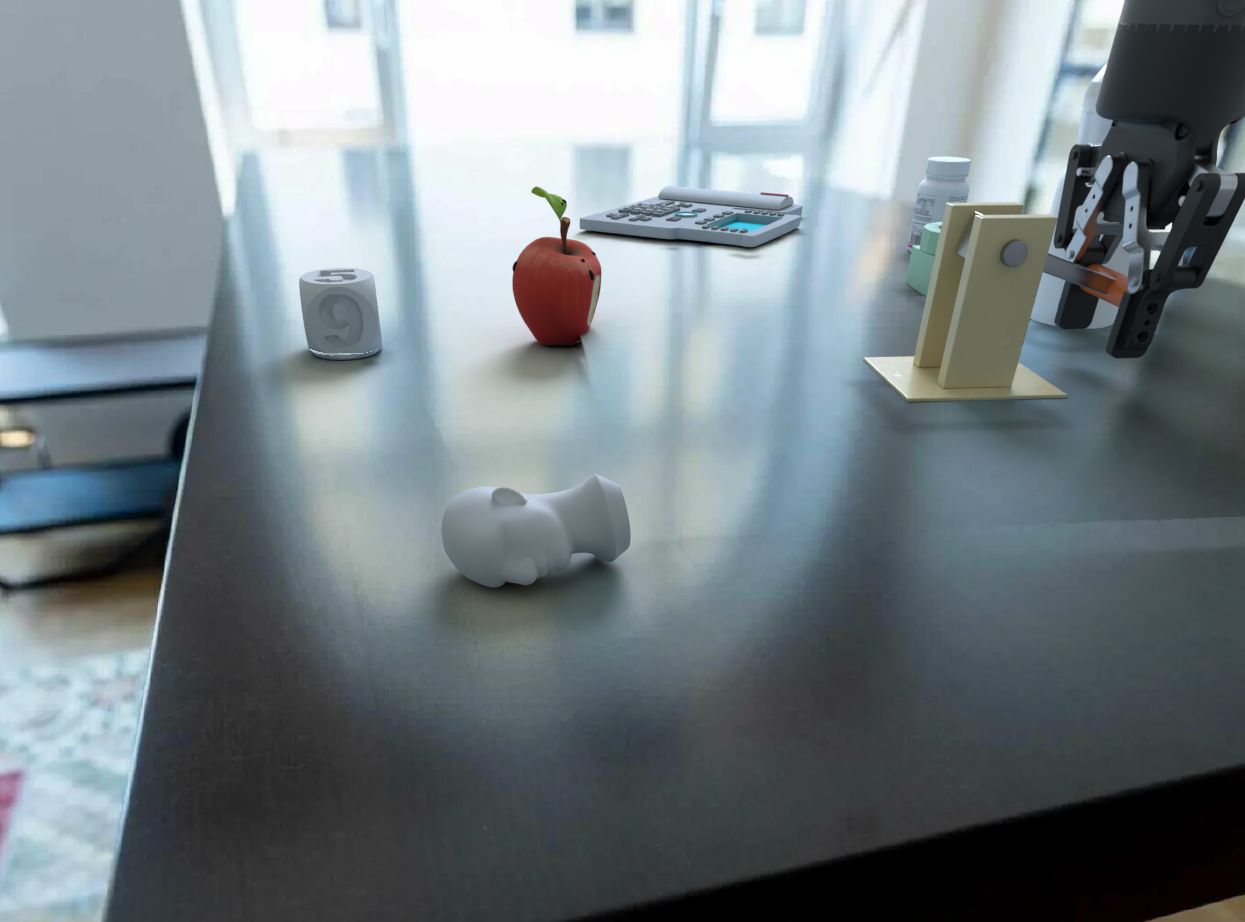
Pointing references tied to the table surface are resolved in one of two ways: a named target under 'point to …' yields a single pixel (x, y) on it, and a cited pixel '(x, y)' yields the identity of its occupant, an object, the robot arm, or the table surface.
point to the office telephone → (702, 216)
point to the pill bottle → (938, 193)
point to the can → (1053, 286)
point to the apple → (557, 283)
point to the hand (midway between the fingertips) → (1096, 340)
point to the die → (340, 312)
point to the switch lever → (1072, 273)
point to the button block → (923, 258)
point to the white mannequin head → (533, 530)
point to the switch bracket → (977, 310)
